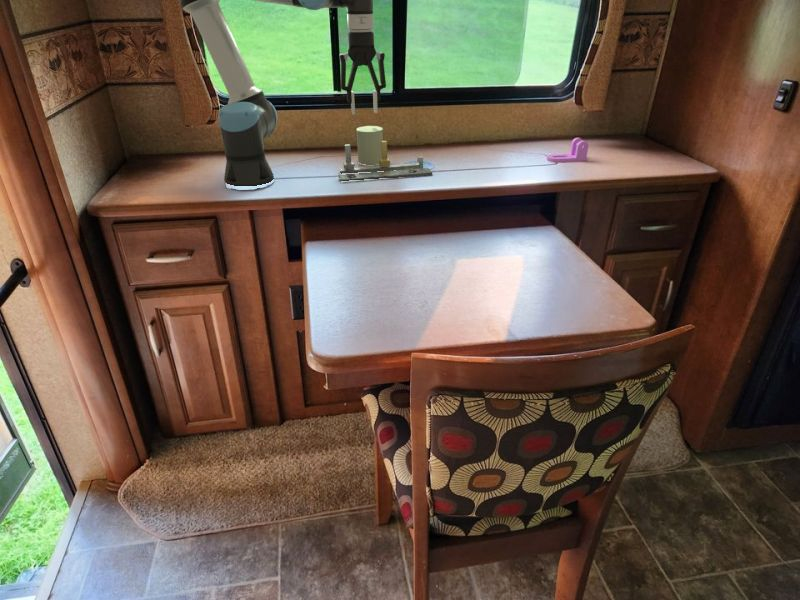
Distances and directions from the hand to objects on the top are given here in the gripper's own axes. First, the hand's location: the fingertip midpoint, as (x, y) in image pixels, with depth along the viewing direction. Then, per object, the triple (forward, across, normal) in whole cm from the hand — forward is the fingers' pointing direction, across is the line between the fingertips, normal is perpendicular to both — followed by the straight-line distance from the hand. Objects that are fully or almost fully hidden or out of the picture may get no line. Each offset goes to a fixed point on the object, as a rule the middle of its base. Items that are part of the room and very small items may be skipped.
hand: (364, 112), depth 163 cm
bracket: (+19, +70, -4) cm, 73 cm away
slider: (+17, +6, 0) cm, 18 cm away
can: (+19, +3, +11) cm, 22 cm away
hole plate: (+19, +5, -6) cm, 21 cm away
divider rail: (+19, +5, 0) cm, 20 cm away
